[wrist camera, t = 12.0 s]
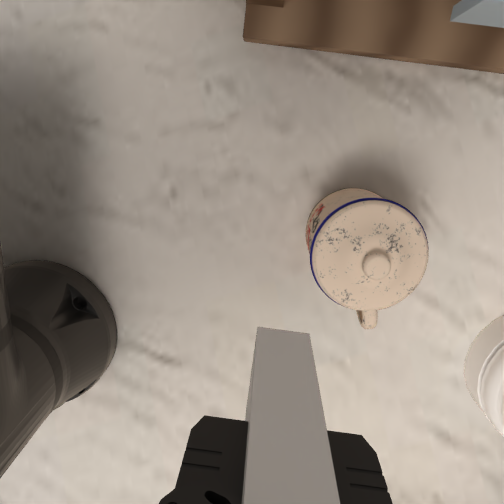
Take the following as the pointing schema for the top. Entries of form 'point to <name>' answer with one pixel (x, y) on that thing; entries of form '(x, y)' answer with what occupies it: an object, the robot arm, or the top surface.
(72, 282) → the robot arm
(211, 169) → the top surface
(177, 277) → the top surface
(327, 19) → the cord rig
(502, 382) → the honey pot
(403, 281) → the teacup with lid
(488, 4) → the light blue slider block
